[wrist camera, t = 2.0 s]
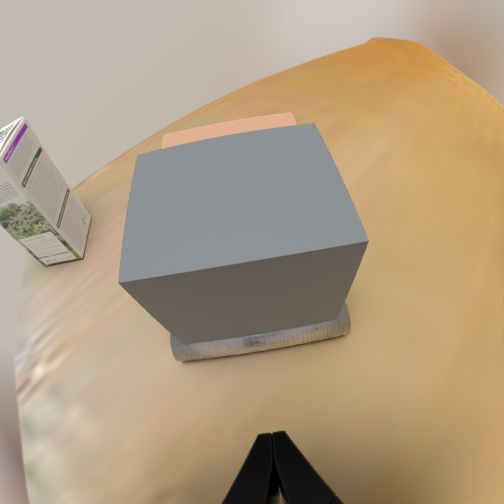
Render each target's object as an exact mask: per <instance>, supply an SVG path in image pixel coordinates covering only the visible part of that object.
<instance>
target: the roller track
mask: <svg viewBox="0 0 504 504" xmlns="http://www.w3.org/2000/svg"><path fill="white" fill-rule="evenodd" d="M349 333H350V317H349V312H348V309H347V306H346V304H345V302H344V304H343V306H342V308H341V311H340V313H339V315H338V317H337V320H332V321H327V322H323V323H318V324H313V325H308V326H302V327H297V328H292V329H286V330H280V331H275V332H269V333H263V334H257V335H250V336H244V337H237V338H230V339H223V340H215V341H208V342H200V343H191V344H183V343H181V342H180V341H179V340H178V339H177V338H176V337H175V336H173V335H172V334H171V348H172V352H173V355H174V357H175V359H176V360H177V361H186V360H196V359H205V358H214V357H222V356H229V355H237V354H244V353H250V352H257V351H263V350H269V349H275V348H281V347H287V346H292V345H298V344H303V343H308V342H313V341H318V340H323V339H327V338H332V337H337V336H341V335H346V334H349Z"/></svg>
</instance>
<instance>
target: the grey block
mask: <svg viewBox="0 0 504 504" xmlns="http://www.w3.org/2000/svg"><path fill="white" fill-rule="evenodd" d="M368 242H369V240H368V238H367V235H366V233H365V230H364V228H363V225H362V223H361V220H360V218H359V216H358V213H357V211H356V209H355V206H354V204H353V202H352V199H351V197H350V195H349V193H348V190H347V188H346V186H345V184H344V182H343V179H342V177H341V175H340V173H339V171H338V169H337V167H336V165H335V162H334V160H333V158H332V156H331V154H330V152H329V150H328V148H327V146H326V144H325V142H324V140H323V138H322V136H321V134H320V132H319V131H318V129H317V127H316V125H315V123H312V124H302V125H293V126H285V127H277V128H270V129H262V130H256V131H249V132H243V133H237V134H231V135H225V136H220V137H215V138H209V139H204V140H199V141H195V142H190V143H185V144H181V145H176V146H172V147H168V148H164V149H159V150H155V151H151V152H148V153H144V154H140V155H137V160H136V164H135V169H134V174H133V180H132V185H131V190H130V196H129V202H128V208H127V214H126V221H125V228H124V235H123V243H122V252H121V261H120V270H119V281H118V283H119V284H120V285H121V286H122V287H123V288H124V289H125V290H126V291H127V292H128V293H129V294H130V295H131V296H132V297H133V298H134V299H135V300H136V301H137V302H138V303H139V304H140V305H141V306H142V307H143V308H144V309H145V310H146V311H147V312H148V313H150V314H151V315H152V316H153V317H154V318H155V319H156V320H157V321H158V322H159V323H160V324H161V325H162V326H164V327H165V328H166V329H167V330H168V331H169V332H170V333H171V334H172V335H173V336H175V337H176V338H177V339H178V340H179V341H180V342H181V343H183V344H191V343H200V342H208V341H215V340H223V339H230V338H237V337H244V336H250V335H257V334H263V333H269V332H275V331H280V330H286V329H292V328H297V327H302V326H308V325H313V324H318V323H323V322H327V321H332V320H337V317H338V315H339V313H340V311H341V308H342V306H343V304H344V302H345V299H346V297H347V295H348V292H349V290H350V287H351V285H352V283H353V280H354V278H355V275H356V273H357V270H358V268H359V265H360V263H361V260H362V258H363V255H364V252H365V250H366V247H367V244H368Z"/></svg>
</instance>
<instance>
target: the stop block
mask: <svg viewBox="0 0 504 504" xmlns="http://www.w3.org/2000/svg"><path fill="white" fill-rule="evenodd" d="M293 125H297V123H296V121H295V119H294V117H293V115H292V112H291V113H282V114H274V115H266V116H259V117H252V118H246V119H240V120H234V121H228V122H222V123H217V124H212V125H206V126H202V127H197V128H192V129H187V130H183V131H178V132H174V133H170V134H166V135H163V140H162V147H161V149H164V148H168V147H172V146H176V145H181V144H185V143H190V142H195V141H199V140H204V139H209V138H215V137H220V136H225V135H231V134H237V133H243V132H249V131H256V130H262V129H270V128H277V127H285V126H293Z"/></svg>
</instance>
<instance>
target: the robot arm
mask: <svg viewBox="0 0 504 504" xmlns="http://www.w3.org/2000/svg"><path fill="white" fill-rule="evenodd" d="M279 487H280V489H279ZM280 491H281V495H282V499H283V502H284V504H344V503H343V502H342V501H341V500H340V499H339V498H338V496H336V494H335V493H334V492H333V491H332V490H331V488H330V487H329V486H328V485H327V484H326V482H325V481H324V480H323V479H322V478H321V476H320V475H319V474H318V473H317V471H316V470H315V469H314V468H313V467H312V465H311V464H310V463H309V462H308V460H307V459H306V458H305V457H304V455H303V454H302V453H301V451H300V450H299V449H298V448H297V446H296V445H295V444H294V442H293V441H292V440H291V439H290V437H289V436H288V435H287V433H286V432H285V431H278V432H273V433H272V434H271V433H263V434H259V435H258V436H257V438H256V440H255V442H254V444H253V446H252V448H251V450H250V452H249V454H248V456H247V458H246V460H245V462H244V463H243V465H242V467H241V469H240V471H239V473H238V475H237V477H236V479H235V480H234V482H233V484H232V486H231V488H230V490H229V491H228V493H227V495H226V497H225V498H224V500H223V502H222V504H279V501H280Z"/></svg>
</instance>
